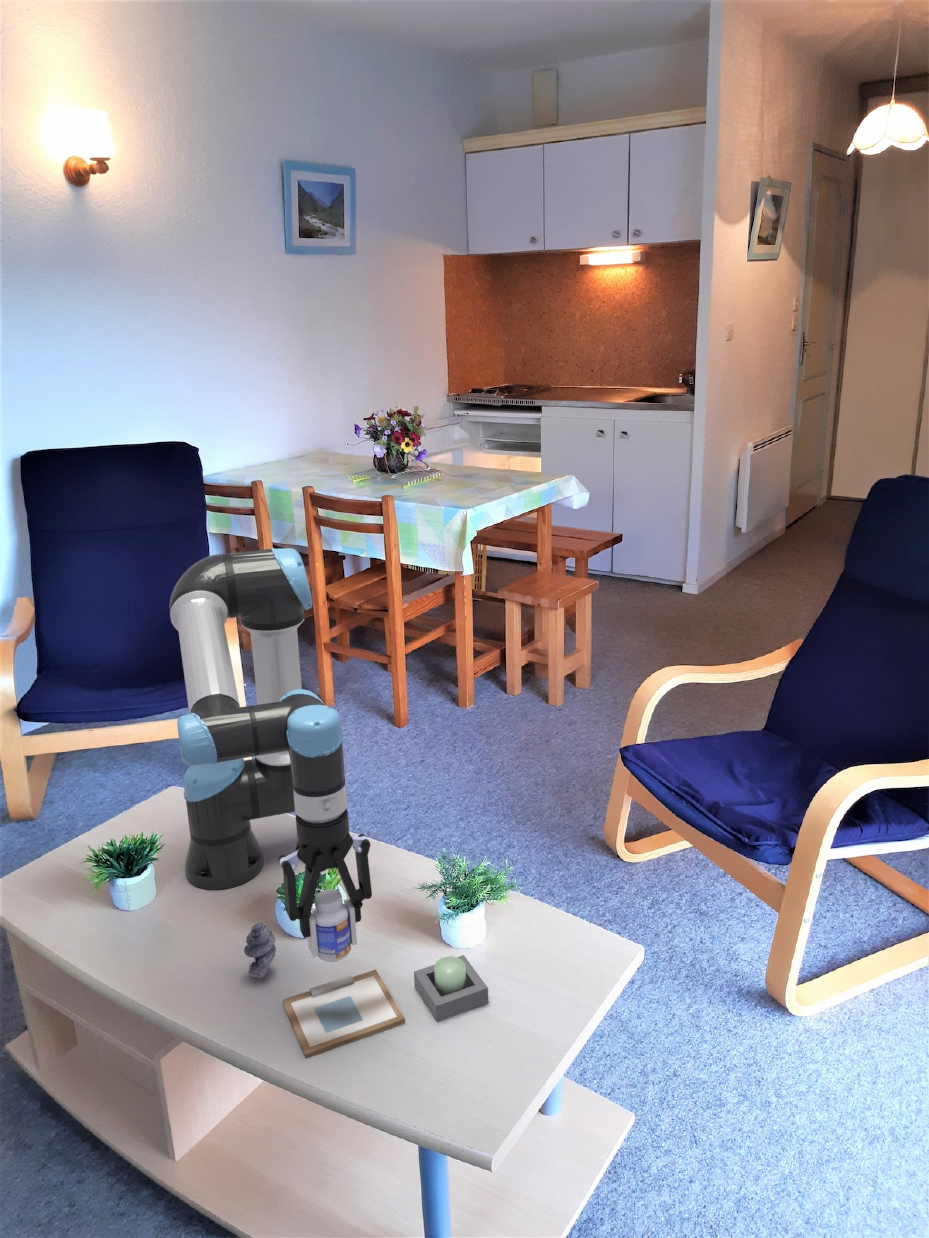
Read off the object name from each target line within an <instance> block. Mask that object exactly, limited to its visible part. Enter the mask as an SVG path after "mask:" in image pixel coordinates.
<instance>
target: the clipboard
mask: <svg viewBox="0 0 929 1238" xmlns="http://www.w3.org/2000/svg"><path fill="white" fill-rule="evenodd" d="M282 1006H283V1008H284V1010H285V1013H286V1015H287V1018H288V1020H289V1021H290V1025H291V1027H292V1030H293V1032H294V1034H295V1036H296V1039H297V1041H298V1043H299V1046H300V1049H301V1051H302V1053H303V1056H304V1058H305V1059H307V1058H310V1057H313V1056H316V1055H318V1054H319V1055H320V1054H321V1053H325V1052H327V1051H331V1050H333V1049H336V1048H338V1047H342V1046H345V1045H347V1044H350V1043H353V1042H356V1041H358V1040H359V1041H360V1040H361V1039H364V1038H367V1037H370V1036H373V1035H376V1034H378V1033H380V1032H384V1031H386V1030H390V1029H393V1028H395V1027H398V1026H401V1025H404V1024H406V1019H405V1016H404V1015H403V1013H402V1012H401V1010H400V1008H399V1006H398V1004H397V1003H396V1001H395V999H394V998H393V995H392V994H391V993H390V991H389V989H388V988H387V986H386V984H385V982H384V981H383V979H382V977H381V975H380V974H379V972H378V971H377V969H373V970H370V971H367V972H364V973H360V974H357V975H354V976H352V975H351V974H350V975H348V976H345V977H342V978H338V979H335V980H333V981H329V982H327V983H323V984H320V985H316V986H313V987H311V988H309V990H308V991H305V992H302V993H298V994H295V995H293V996H290V997H286V998H284V999H282Z"/></svg>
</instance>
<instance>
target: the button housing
mask: <svg viewBox="0 0 929 1238" xmlns="http://www.w3.org/2000/svg"><path fill="white" fill-rule="evenodd" d="M457 957H458V958H460V959H462V960H463V961H464V963H465V965H466V989H463V990H460V991H457V992H454V993H451V994H448V995H445V996H443V997H442V996H440V995H439V993H438V992H437V990H436V989H435V970H434V966H435V964H433V965H429V966H426V967H423V968H420V969H417V970H415V971H413V979H414V989H416V992H417V993H418V995H420V997H421V999H422V1001H423V1002H424V1004H425V1005H426V1007H427V1008H428V1010H429V1012H430V1013H431V1016H432V1017H433V1018H434V1019H435V1022H441V1021H443V1020H446V1019H449V1018H452V1017H454V1016H457V1015H461V1014H463V1013H465V1012H467V1011H470V1010H474V1009H477V1008H480V1007H482V1006H485V1005H488V1004H489V987H488V985H487V984H486V983H485V981H484V980H483V979H482V978H481V976H480V975H479V973H478V972H477V971H476V969H475V968H474V967H473V965H472V964H471V963H470V962H469V960H468V959H467V958H466V956H465V955H464V954H462V955H459V956H457Z"/></svg>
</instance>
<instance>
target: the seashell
mask: <svg viewBox="0 0 929 1238" xmlns="http://www.w3.org/2000/svg"><path fill="white" fill-rule="evenodd" d="M245 942H246V945H245V946H244V949H243V952H244V954H245V956H247V957H248V958H253V959H254V960H253V961H251V962H250V963H249V971H248V975H250V976H251V977H252V978H255V979H259V980H260V979H262V978H263V977H264V976H265V975H266V974H267V972H268V970H269V969H270V968H269V967H270V966H271V963H273V962H272V961H273V960H274V958H275V956H276V951H277V947H276V945H275V943H276V937H275V934H274V933H273V931H272V930H270V929H269V926H268V924H267V923H266V922H262V923H260V922H258V923H256V924H254V925H253V926H252V927H251V931H250V932H249V933H248V934H247V936H246V940H245Z"/></svg>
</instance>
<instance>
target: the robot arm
mask: <svg viewBox="0 0 929 1238" xmlns="http://www.w3.org/2000/svg"><path fill="white" fill-rule="evenodd" d="M309 583H310V582H309V578H308V575H307V572H306V568H305V565H304V562H303V558H302V556H301V554H300V553H299V551H297V550H296V549H294V548H292V547H291V548H290V547H286V548H283V547H282V548H274V547H271V548H268V549H267V548H266V549H265V548H264V549H259V550H258V549H256V550H249V551H240V552H232V553H231V552H230V553H219V554H218V553H217V554H211V555H209V556H206V557H204V558H202V559H199V560H198V561H197V562H195V563H193V565H191V566H190V567H189V568H188V569H186V571H185V572H183V574H182V575H181V576H180V577H179V578H178V581H177V582H176V584H175V585H174V587H173V590H172V591H171V595H170V598H169V599H170V600H169V605H168V606H169V617H170V621H171V625H173V628H174V629H175V630H176V631H178V637H179V638H178V639H179V643H180V644H179V645H180V653H181V659H182V661H181V663H182V668H183V675H184V684H185V690H186V698H187V705H188V706H187V707H188V714H185V715H181V716H179V718H177V719H176V720H177V721H176V726H177V734H178V740H179V749H180V755H181V756H180V757H181V760H182V763H184V764H185V765H186V766H189V767H188V769H187V770H186V772H185V774H184V775H183V798H184V800H185V804H186V810H187V811H186V813H187V821H188V827H189V828H188V829H189V830H188V831H189V837H190V841H189V844H188V850H187V853H186V857H185V862H184V868H185V870H184V871H185V876H186V879H187V880H188V882H189V883H190V884H191V885H193V886H195V887H197V888H201V889H205V890H227V889H231V888H235V887H238V886H241V885H243V884H246V883H247V882H249V881H251V880H252V879H253V878H255V877H256V876H257V875H258V874H259V873H261V871H262V869H263V866H264V854H263V850H262V848H261V845H260V844H259V842H258V839H257V838H256V836H255V834H254V832H253V829H252V827H251V820H257V819H262V818H263V819H265V818H267V817H268V818H269V817H274V816H278V815H279V816H280V815H285V814H289V813H295V824H296V825H295V826H296V836H297V843H296V847H295V848H294V849H295V850H294V851H293V852H292V853H290V854H288V855H285V854H281V855H279V856H278V858H277V859H278V862H279V864H280V867H281V869H282V876H283V877H282V878H283V879H282V880H283V893H284V894H283V896H284V908H285V909H284V910H285V912H286V914H287V916H288V918H289V920H290V922H295V921H297V920H298V921H299V930H300V933H301V935H302V937H303V938H304V939H307V945H308V950H309V952H310V954H311V955H312V957H313V959H314V958H315V959H316V958H319V957H318V945H317V934H316V923H315V918H314V916H313V915H312V913H313V912H312V911H313V910H312V909H313V905H314V901H315V895H316V891H317V890H316V889H317V885H318V881H319V880H320V877H321V873H324V872H325V871H327V870H328V869H329V870H333V869H336V870H337V872H338V876H339V877H340V879H341V882H342V884H343V886H344V889H345V891H346V893H347V895H348V898H346V899H343V904H344V905H345V906H346V907H347V909H348V917H349V928H350V939H351V947H352V946H355V945H358V939H357V938H358V937H357V923H359V922H361V920H362V911H361V910H362V909H361V908H362V907H363V901H364V900H369V899H371V898H372V897H373V893H372V892H373V890H372V883H371V873H370V864H369V852H370V848H371V842H370V840H369V839H368V837H366V835H365V834H363V833H360V834H358V836H351V833H350V823H349V811H348V800H347V799H348V798H347V787H346V775H345V763H344V762H345V761H344V745H343V742H344V741H343V738H344V730H343V729H342V723H341V722H342V721H341V715H340V713H339V711H337V710H336V709H335V708H331V707H330V706H329V705H325V703H324V702H323V701H322V699H321V698H320V697H319V696H318V695H317V694H316V693H314V692H312V691H310V690H308V689H303V687H302V675H301V662H300V660H301V659H300V649H299V637H298V628H299V627H300V626H301V624H303V622H304V621H305V611H308V610H310V609H312V607H313V599H312V598H313V597H312V591H311V586H310V584H309ZM234 618H240V625H241V627H243V628H244V629H245V630H246V631H248V632H249V633H250V640H251V642H250V643H251V651H252V660H253V662H252V663H253V672H254V683H255V693H256V703H257V704H255V705H245V706H240V701H239V697H238V696H239V695H238V690H237V686H236V685H237V683H236V679H235V675H234V669H233V664H232V658H231V653H230V648H229V642H228V638H227V631H226V626H225V624H226V622H227V619H234ZM251 757H254V758H251ZM246 758H251V759H246ZM245 759H246V760H245ZM351 848H353V850H354V854H355V863H356V872H357V880H358V881H357V882H358V888H356V886H355V883H354V881H353V879H352V877H351V874H350V872H349V869H348V865H347V863H346V862H345V859H346V856H347V855H348V853H349V851H350V850H351ZM298 861H301V862H302V863H303V864H304V875H303V876H304V877H303V880H302V885H301V890H300V896H299V900H298V897H297V896H298V895H297V894H298V893H297V880H296V874H295V871H297V867H298Z"/></svg>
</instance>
